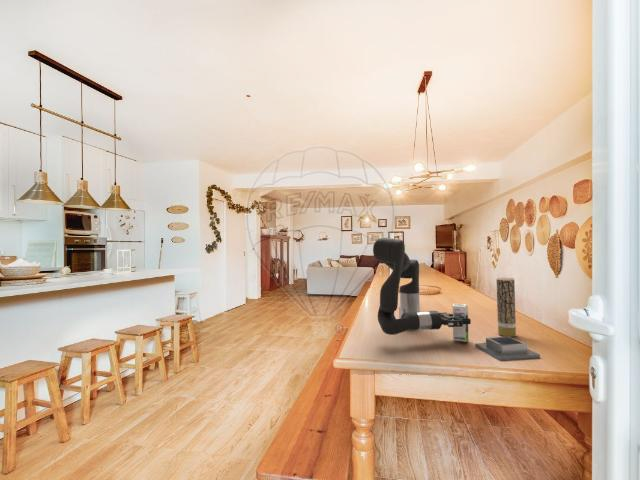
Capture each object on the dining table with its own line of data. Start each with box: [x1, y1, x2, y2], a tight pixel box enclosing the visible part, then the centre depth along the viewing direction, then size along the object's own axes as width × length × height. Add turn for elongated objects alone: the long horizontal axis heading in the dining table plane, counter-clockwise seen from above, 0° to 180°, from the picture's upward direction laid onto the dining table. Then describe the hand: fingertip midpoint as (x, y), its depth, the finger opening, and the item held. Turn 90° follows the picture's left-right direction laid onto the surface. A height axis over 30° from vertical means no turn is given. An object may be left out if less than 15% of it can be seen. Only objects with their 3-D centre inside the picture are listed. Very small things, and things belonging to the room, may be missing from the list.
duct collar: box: [475, 336, 541, 362], centre depth 120 cm, size 15×15×4 cm
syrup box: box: [452, 303, 469, 343], centre depth 133 cm, size 6×6×14 cm
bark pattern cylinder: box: [495, 276, 517, 338], centre depth 140 cm, size 7×7×25 cm
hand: (464, 318), depth 133 cm, fingers closed on syrup box, 7 cm apart
